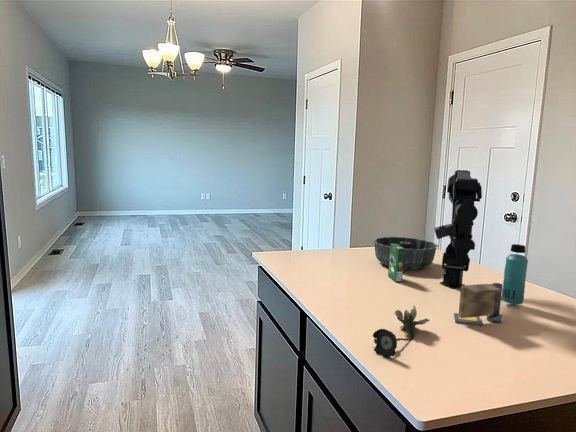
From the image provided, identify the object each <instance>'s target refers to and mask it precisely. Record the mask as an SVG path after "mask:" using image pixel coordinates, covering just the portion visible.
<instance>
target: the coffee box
mask: <svg viewBox="0 0 576 432" xmlns="http://www.w3.org/2000/svg"><path fill="white" fill-rule="evenodd" d="M404 253H405V249H404V248H403V247H401V246H400V245H398V244H394V243H392V244H390V257H389V267H388V274H387V276H388V277H389V278H390V279H391V280H392V281H394V282H395V283H402V282H403V275H404V269H403V264H404Z"/></svg>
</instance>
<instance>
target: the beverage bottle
mask: <svg viewBox="0 0 576 432" xmlns="http://www.w3.org/2000/svg"><path fill="white" fill-rule="evenodd" d="M510 251H511V252H513V253H511V254H509V255H508V256H506V258H505V266H504V272H503V274H504V275H503V281H502V294H501V300H502V301H503V302H504V303H507V304H511V305H523V303H524V300H525V289H526V288H525V287H526V277H527V270H528V263H529V259H528V258H527V257H526V256H525V255H522V254H525V253H526V245H522V244H518V243H517V244H516V243H515V244H511V246H510Z"/></svg>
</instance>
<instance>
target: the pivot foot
mask: <svg viewBox="0 0 576 432" xmlns="http://www.w3.org/2000/svg"><path fill="white" fill-rule="evenodd" d="M485 319H486V321H487V322H489V323H491V324H501V323H502V322H503V321H502V320H503V315H502V314H500V313H499V315H498V316H496V315H488V316H486V318H485Z"/></svg>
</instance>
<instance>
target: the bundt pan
mask: <svg viewBox="0 0 576 432" xmlns="http://www.w3.org/2000/svg"><path fill="white" fill-rule="evenodd" d="M372 240H373V242H372V243H374V254H375V258H376V259H377V260H378V262H379V263H381V264H382V265H385V266H386V267H388V268H389V257H390V244H392V243H394V244H398V245H400V246H401V247H403V248H404V249H405V253H404V264H403V271H406V270H407V269H409V270H423V269H424V268H428V267H429V266H431V265H432V263H433V261H434V259H435V256H436V251H437V249H438V247H439V245H438V244H436V243H435V242H432V241H428V240H426V239H420V238H414V237H406V236H382V237H376V238H375V239H372Z"/></svg>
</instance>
